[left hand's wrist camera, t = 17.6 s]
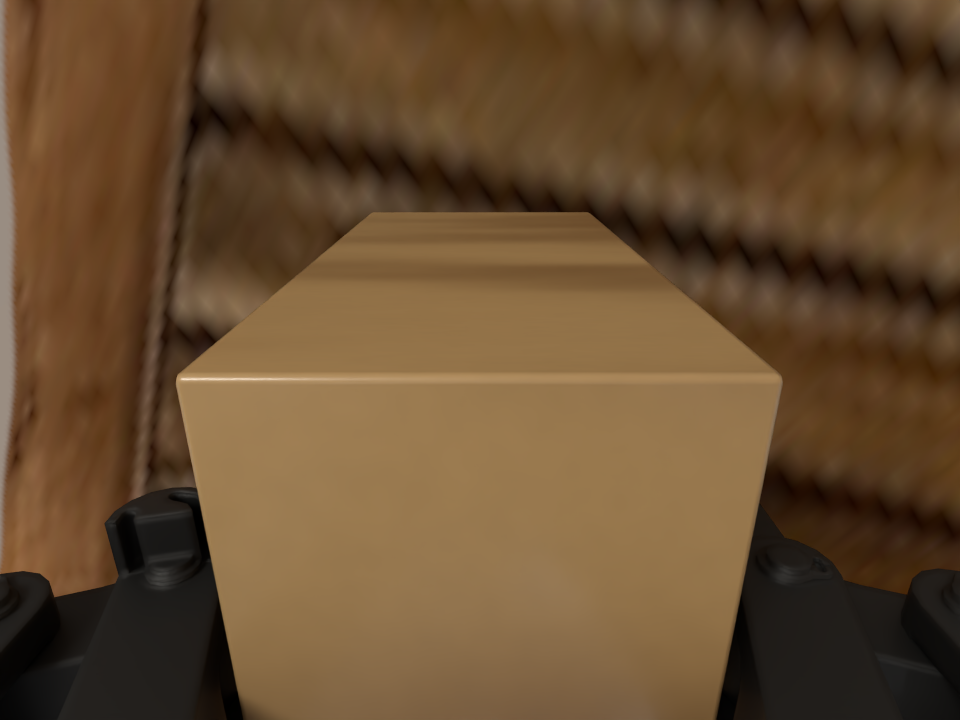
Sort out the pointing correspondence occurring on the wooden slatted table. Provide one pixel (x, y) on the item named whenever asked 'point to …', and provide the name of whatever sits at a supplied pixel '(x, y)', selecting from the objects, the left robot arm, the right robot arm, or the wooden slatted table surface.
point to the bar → (479, 478)
